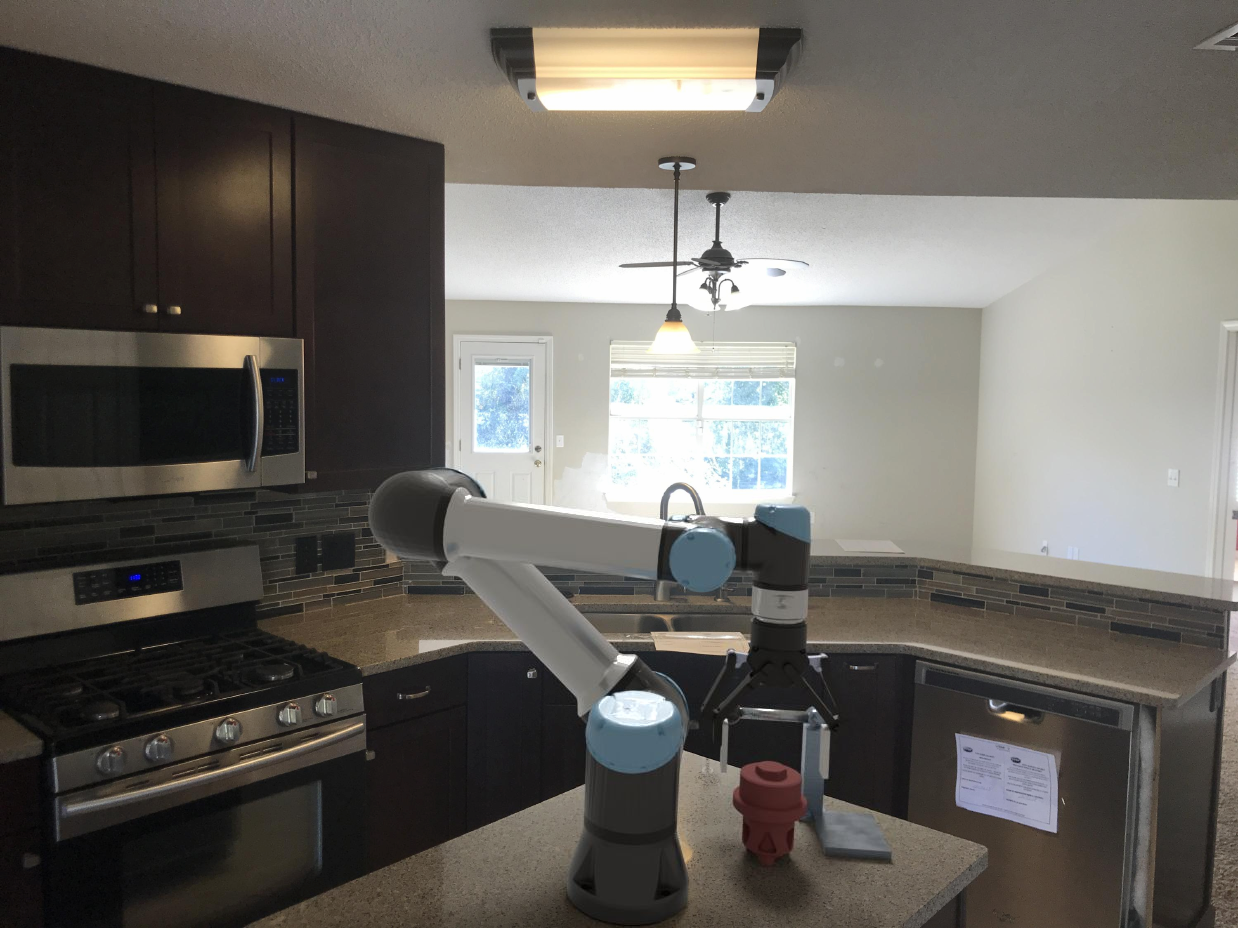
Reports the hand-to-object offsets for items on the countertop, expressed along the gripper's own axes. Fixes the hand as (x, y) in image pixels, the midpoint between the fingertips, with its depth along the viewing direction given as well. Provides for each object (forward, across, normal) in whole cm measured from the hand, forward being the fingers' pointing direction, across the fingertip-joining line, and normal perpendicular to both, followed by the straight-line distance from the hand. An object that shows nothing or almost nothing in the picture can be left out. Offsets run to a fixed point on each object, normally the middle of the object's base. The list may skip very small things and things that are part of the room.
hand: (773, 771), depth 115 cm
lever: (-2, +1, +14) cm, 14 cm away
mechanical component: (+12, 0, 0) cm, 12 cm away
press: (+12, +11, +8) cm, 18 cm away
